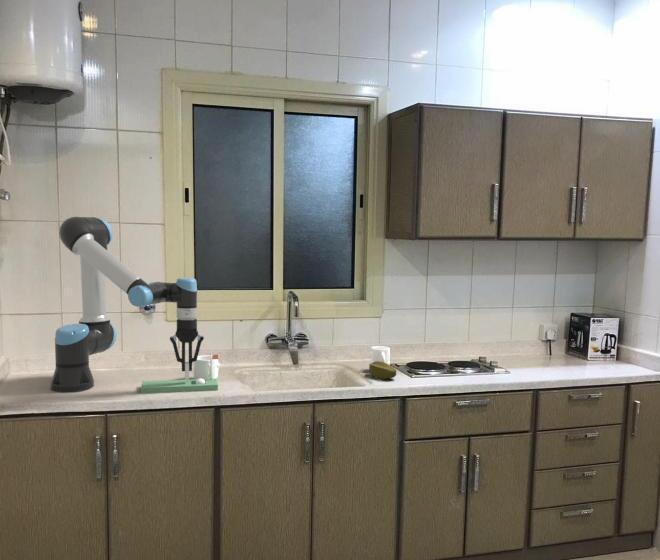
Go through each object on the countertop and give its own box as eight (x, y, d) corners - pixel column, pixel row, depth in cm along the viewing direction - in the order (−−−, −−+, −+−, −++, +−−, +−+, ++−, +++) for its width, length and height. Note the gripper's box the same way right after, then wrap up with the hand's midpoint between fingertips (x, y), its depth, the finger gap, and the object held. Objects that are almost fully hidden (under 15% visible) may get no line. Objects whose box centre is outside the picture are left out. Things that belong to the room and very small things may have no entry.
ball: (198, 378, 229) (207, 381, 230) (198, 375, 232) (206, 379, 233) (194, 386, 228) (202, 390, 229) (194, 384, 232) (202, 387, 233)
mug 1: (224, 382, 240) (224, 360, 239) (198, 385, 235) (198, 362, 234) (215, 375, 250) (215, 354, 249) (191, 378, 245) (191, 356, 245)
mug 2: (392, 374, 259) (393, 351, 258) (373, 374, 258) (374, 351, 257) (387, 368, 271) (388, 346, 270) (369, 368, 270) (370, 346, 269)
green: (141, 393, 221) (140, 361, 220) (142, 386, 230) (142, 355, 229) (219, 389, 228) (219, 359, 227) (217, 383, 238) (217, 353, 237)
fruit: (369, 380, 248) (369, 364, 248) (368, 373, 260) (369, 358, 260) (396, 381, 248) (397, 365, 247) (394, 374, 260) (395, 359, 259)
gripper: (169, 320, 222) (169, 382, 224) (204, 319, 226) (204, 381, 227) (169, 317, 230) (169, 377, 231) (203, 316, 233) (203, 376, 235)
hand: (186, 379), depth 229 cm, fingers closed
